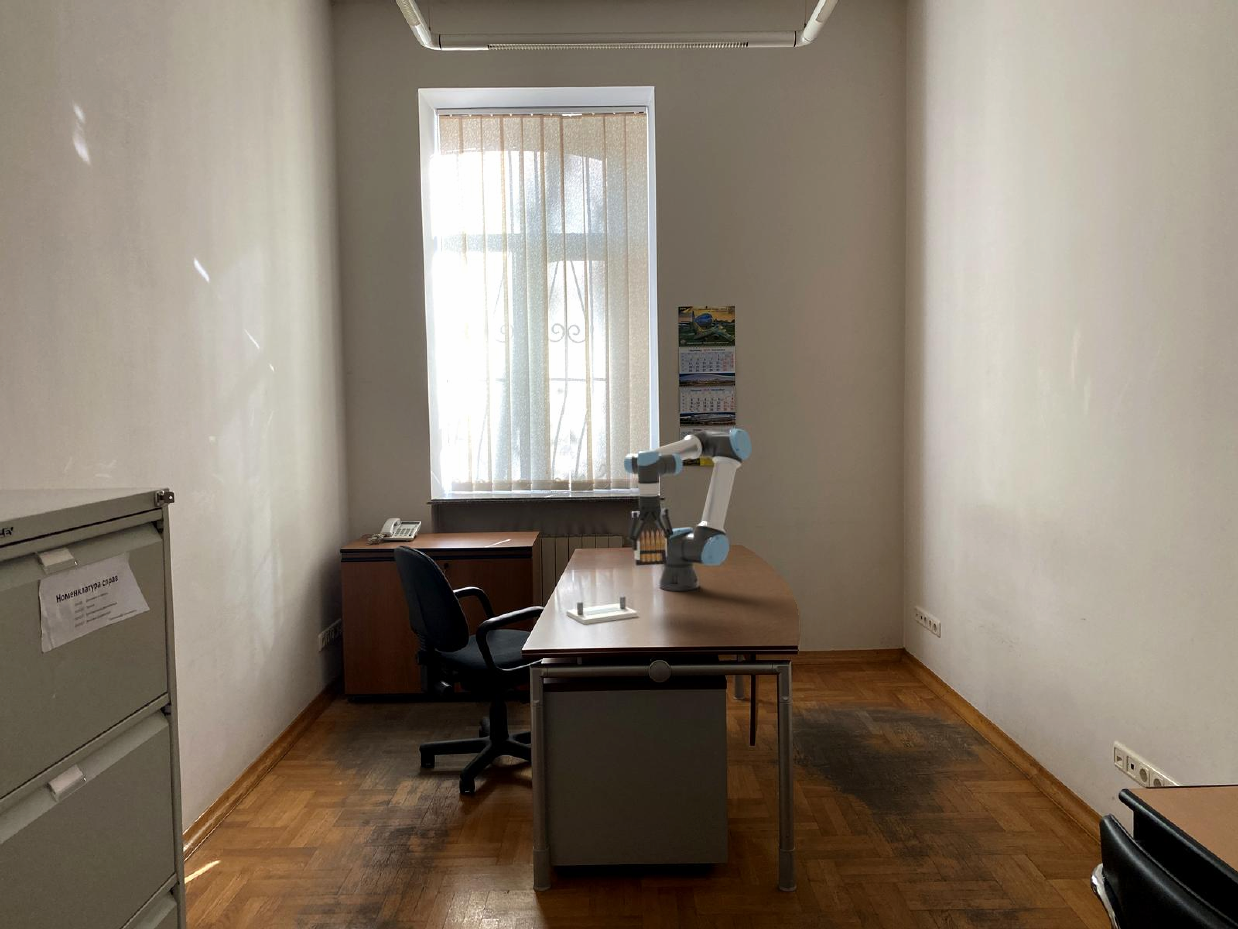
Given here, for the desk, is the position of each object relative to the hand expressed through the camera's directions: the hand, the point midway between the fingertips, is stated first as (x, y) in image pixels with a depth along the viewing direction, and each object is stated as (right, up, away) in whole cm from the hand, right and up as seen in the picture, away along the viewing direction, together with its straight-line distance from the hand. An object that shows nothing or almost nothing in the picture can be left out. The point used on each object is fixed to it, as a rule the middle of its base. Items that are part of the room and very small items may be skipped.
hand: (650, 557), depth 302 cm
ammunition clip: (0, -3, 0) cm, 3 cm away
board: (-17, -19, -9) cm, 27 cm away
